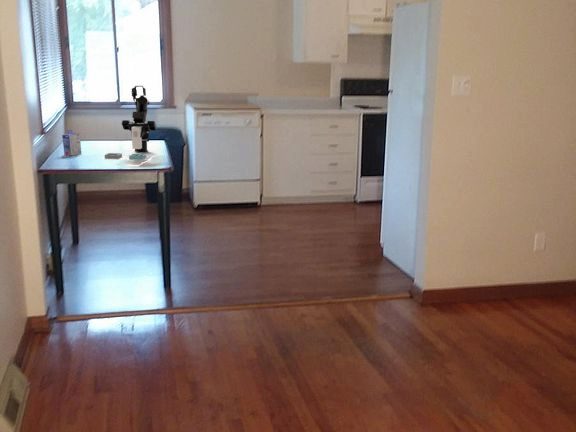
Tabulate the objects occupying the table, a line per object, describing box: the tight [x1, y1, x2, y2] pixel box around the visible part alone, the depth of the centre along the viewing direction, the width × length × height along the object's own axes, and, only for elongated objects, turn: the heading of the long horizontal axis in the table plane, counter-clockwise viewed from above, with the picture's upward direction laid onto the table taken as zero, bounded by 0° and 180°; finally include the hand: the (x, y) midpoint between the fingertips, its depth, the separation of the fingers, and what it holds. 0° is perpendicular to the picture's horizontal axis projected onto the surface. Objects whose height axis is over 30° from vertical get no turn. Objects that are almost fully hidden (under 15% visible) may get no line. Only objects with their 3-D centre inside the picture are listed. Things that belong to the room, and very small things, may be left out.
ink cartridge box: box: [61, 129, 82, 157], centre depth 363 cm, size 10×6×14 cm, turn 161°
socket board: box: [101, 152, 150, 163], centre depth 350 cm, size 24×12×3 cm, turn 87°
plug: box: [131, 127, 143, 150], centre depth 347 cm, size 5×4×12 cm
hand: (136, 136), depth 347 cm, fingers closed on plug, 4 cm apart
